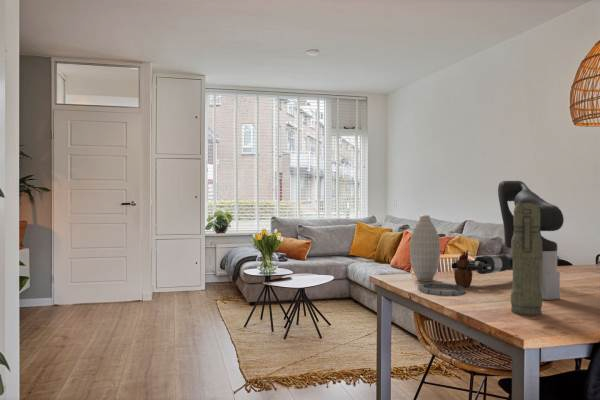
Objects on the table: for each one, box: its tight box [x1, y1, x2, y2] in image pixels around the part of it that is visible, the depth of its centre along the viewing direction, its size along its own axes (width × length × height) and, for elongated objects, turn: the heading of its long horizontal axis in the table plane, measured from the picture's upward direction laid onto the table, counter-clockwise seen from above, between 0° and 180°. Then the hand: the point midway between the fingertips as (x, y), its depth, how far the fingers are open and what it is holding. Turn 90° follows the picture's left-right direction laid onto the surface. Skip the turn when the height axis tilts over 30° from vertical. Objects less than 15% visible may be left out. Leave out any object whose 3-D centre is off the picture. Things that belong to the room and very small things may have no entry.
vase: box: [409, 214, 441, 282], centre depth 207 cm, size 13×13×28 cm
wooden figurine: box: [453, 249, 473, 288], centre depth 193 cm, size 7×6×15 cm
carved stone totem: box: [510, 202, 543, 317], centre depth 150 cm, size 9×12×35 cm
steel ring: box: [417, 282, 466, 296], centre depth 184 cm, size 17×17×2 cm
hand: (459, 267), depth 192 cm, fingers open, 7 cm apart
